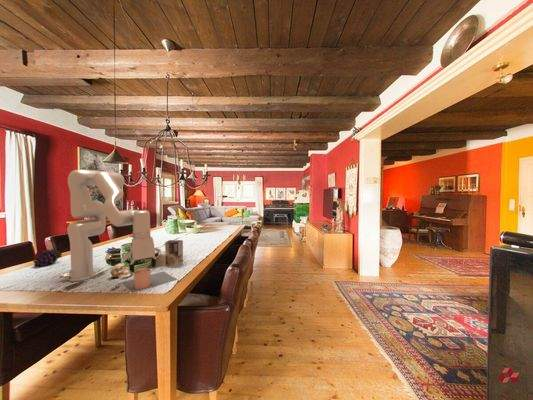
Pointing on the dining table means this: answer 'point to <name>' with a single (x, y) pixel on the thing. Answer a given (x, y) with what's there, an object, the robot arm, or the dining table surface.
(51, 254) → the fruit
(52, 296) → the dining table surface
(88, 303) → the dining table surface
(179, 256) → the coffee box
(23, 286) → the dining table surface
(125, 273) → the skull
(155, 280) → the mat
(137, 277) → the cup
